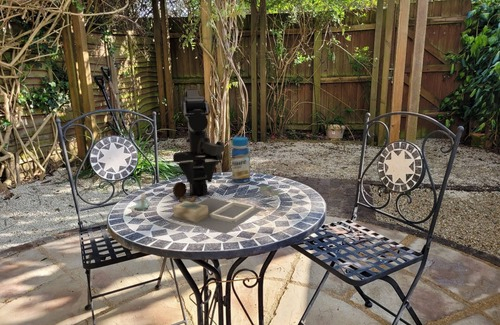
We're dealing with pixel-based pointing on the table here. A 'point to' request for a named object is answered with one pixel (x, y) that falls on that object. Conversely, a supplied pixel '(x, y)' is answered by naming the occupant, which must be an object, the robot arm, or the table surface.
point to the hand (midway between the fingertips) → (201, 183)
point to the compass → (182, 192)
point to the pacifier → (141, 203)
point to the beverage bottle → (240, 161)
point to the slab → (190, 211)
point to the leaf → (267, 191)
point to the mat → (223, 215)
